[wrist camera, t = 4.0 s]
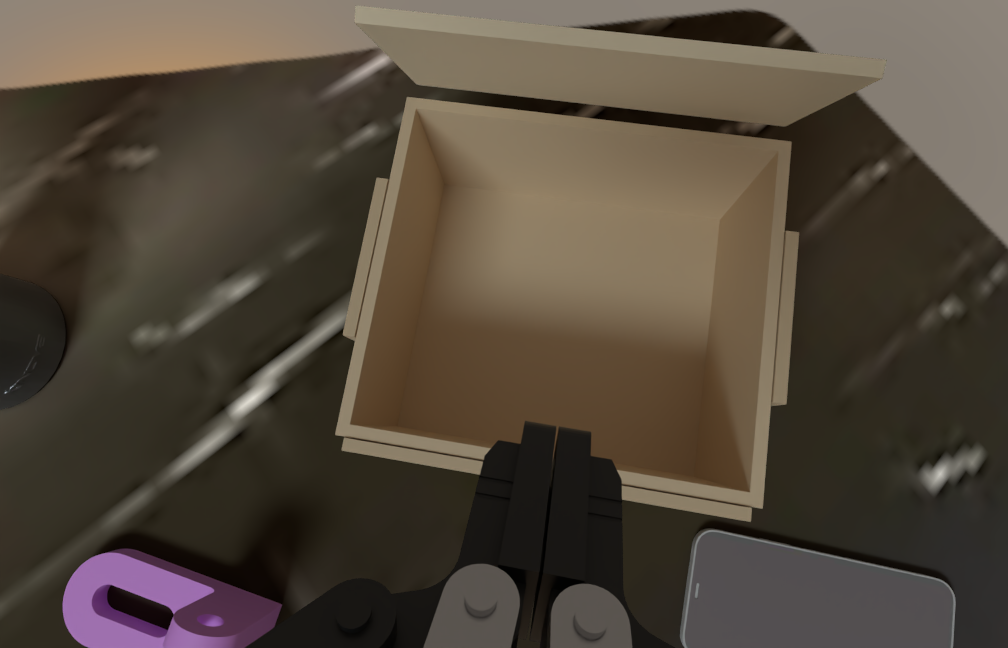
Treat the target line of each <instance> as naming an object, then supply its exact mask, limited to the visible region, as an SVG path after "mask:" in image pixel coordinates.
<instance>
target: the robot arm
mask: <svg viewBox="0 0 1008 648" xmlns="http://www.w3.org/2000/svg"><path fill="white" fill-rule="evenodd" d="M65 336H66V328H65V322H64V317H63V314H62V312H61V309H60V307H59V305H58V304H57V302H56V301H55V300H54V298H53V297H52V295H50V294H49V293H48V292H47V291H45V290H44V289H43V288H41V287H39V286H37V285H35V284H33V283H30V282H27V281H23V280H20V279H17V278H13V277H10V276H6V275H3V274H0V409H5V408H10V407H13V406H15V405H17V404H20V403H22V402H24V401H26V400H27V399H29V398H30V397H32V396H33V395H34V394H36V393H37V392H38V391H39V390H40V389H41V388H42V387H43V386H44V385H45V384H46V383H47V382H48V381H49V379H50V378H51V376H52V375H53V373H54V372H55V371H56V368H57V366H58V364H59V362H60V360H61V358H62V354H63V350H64V346H65ZM555 435H556V426H554V425H548V424H542V423H536V422H530V421H525V423H524V428H523V434H522V439H521V444H518V443H513V442H507V441H501V440H498V441H497V442H496V443H495V444H494V446H493V447H492V448H491V449H490V450H489V451H488V453H487V454H486V455H485V456H484V460H483V464H482V468H481V472H480V477H479V480H478V484H477V488H476V493H475V496H474V500H473V504H472V508H471V512H470V516H469V520H468V524H467V528H466V532H465V536H464V540H463V544H462V548H461V552H460V556H459V559H458V562H457V564H456V566H455V567H454V569H453V570H452V572H451V573H450V574H449V575H448V576H447V577H446V578H445V579H443V580H442V581H441V582H439V583H438V584H436V585H434V586H432V587H429V588H426V589H422V590H417V591H410V592H403V593H396V594H391V593H390V592H389V590H388V589H387V588H386V587H385V586H383V585H382V584H380V583H379V582H376V581H374V580H370V579H363V578H359V579H352V580H347V581H345V582H342V583H340V584H338V585H337V586H335V587H333V588H332V589H330V590H329V591H327V592H326V593H324V594H323V595H322V596H320V597H319V598H317V599H316V600H314V601H313V602H311V603H310V604H308V605H307V606H305V607H304V608H302V609H301V610H299V611H298V612H296V613H295V614H294V615H292V616H291V617H289V618H288V619H286V620H285V621H283V622H282V623H280V624H279V625H277V626H276V627H274V628H273V629H271V630H270V631H268V632H267V633H266V634H264V635H263V636H261V637H260V638H258V639H257V640H255V641H254V642H252V643H251V644H249V645H248V646H246V647H245V648H516V647H517V641H518V638H519V639H524V640H526V638H527V633H528V628H529V623H530V618H531V612H532V607H533V602H534V608H533V616H532V624H531V632H530V641H535V642H540V648H675V647H673V646H671V645H669V644H667V643H666V642H664V641H662V640H660V639H658V638H657V637H655V636H654V635H652V634H650V633H649V632H648V631H647V630H645V629H644V628H643V627H642V626H641V625H640V624H639V623H638V622H637V620H636V619H635V618H634V616H633V615H632V613H631V612H630V610H629V608H628V606H627V603H626V601H625V597H624V591H623V543H622V505H621V504H622V479H621V477H620V475H619V473H618V471H617V469H616V467H615V465H614V463H613V461H612V459H606V458H600V457H594V456H591V432H590V431H584V430H578V429H572V428H566V427H560V426H559V429H558V434H557V440H556V445H555V451H554V444H555ZM553 452H554V456H553ZM534 597H535V599H534Z"/></svg>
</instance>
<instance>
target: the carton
mask: <svg viewBox="0 0 1008 648" xmlns="http://www.w3.org/2000/svg"><path fill="white" fill-rule="evenodd" d="M791 143H792V142H790V141H782V140H773V139H765V138H756V137H747V136H739V135H730V134H721V133H713V132H704V131H696V130H687V129H678V128H670V127H661V126H653V125H644V124H635V123H627V122H618V121H610V120H601V119H592V118H584V117H575V116H566V115H558V114H549V113H541V112H532V111H523V110H515V109H506V108H498V107H489V106H480V105H472V104H463V103H455V102H446V101H437V100H429V99H420V98H411V97H407V100H406V104H405V109H404V114H403V119H402V123H401V128H400V133H399V137H398V142H397V147H396V151H395V156H394V161H393V166H392V170H391V175H390V180H388V179H384V178H377V179H376V184H375V188H374V193H373V198H372V202H371V207H370V211H369V216H368V221H367V225H366V230H365V234H364V239H363V244H362V248H361V253H360V257H359V262H358V267H357V271H356V276H355V280H354V285H353V290H352V294H351V299H350V303H349V308H348V313H347V317H346V322H345V326H344V331H343V335H344V336H346V337H348V338H350V339H352V340H354V341H355V344H354V349H353V353H352V358H351V363H350V368H349V372H348V377H347V382H346V386H345V391H344V396H343V400H342V405H341V410H340V415H339V419H338V424H337V429H336V433H335V435H339V436H345V437H350V438H344V441H343V446H342V451H348V452H354V453H359V454H365V455H371V456H377V457H382V458H388V459H394V460H399V461H405V462H411V463H417V464H422V465H428V466H434V467H440V468H445V469H451V470H457V471H462V472H468V473H474V474H480V472H481V468H482V464H483V460H484V456H485V455H486V454H487V453H488V451H489V450H490V449H491V448H492V447H493V446H494V444H495V443H496V442H497V441H498V440H501V441H507V442H513V443H518V444H521V439H522V434H523V428H524V423H525V421H530V422H536V423H542V424H548V425H554V426H556V435H555V444H554V451H555V445H556V440H557V434H558V429H559V426H560V427H566V428H572V429H578V430H584V431H590V432H591V456H594V457H600V458H606V459H612V461H613V463H614V465H615V467H616V469H617V471H618V473H619V475H620V477H621V479H622V499H623V500H628V501H634V502H640V503H646V504H651V505H657V506H663V507H668V508H674V509H680V510H686V511H691V512H697V513H703V514H708V515H714V516H720V517H726V518H731V519H737V520H743V521H749V522H751V513H752V508H750V507H748V506H751V507H756V508H762V509H763V497H764V484H765V472H766V459H767V446H768V434H769V421H770V408H771V406H775V405H784V404H786V402H787V389H788V375H789V362H790V349H791V335H792V322H793V308H794V295H795V281H796V268H797V254H798V241H799V232H792V231H786V232H785V219H786V206H787V194H788V181H789V169H790V156H791ZM553 456H554V452H553Z"/></svg>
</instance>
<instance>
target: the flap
mask: <svg viewBox="0 0 1008 648" xmlns="http://www.w3.org/2000/svg"><path fill="white" fill-rule="evenodd" d="M355 24H356V25H357V26H358V27H359V28H360V29H361V30H362V31H363V32H364V33H365V34H366V35H367V36H368V37H369V38H370V39H372V41H373V42H374V43H376V45H377V46H378V47H379V48H381V49H382V50H383V51H384V52H385V53H386V54H387V55H388V56H389V57H390V58H391V59H392V60H393V61H394V62H395V63H396V64H397V65H398V66H399V67H400V68H401V69H402V70H403V71H404V72H405V73H406V74H407V75H408V76H409V77H410V78H411V79H412V80H413V81H414V82H415V83H416V84H417V85H424V86H433V87H442V88H451V89H459V90H468V91H477V92H486V93H495V94H503V95H512V96H521V97H530V98H538V99H547V100H556V101H565V102H573V103H582V104H591V105H600V106H609V107H617V108H626V109H635V110H644V111H652V112H661V113H670V114H679V115H688V116H696V117H705V118H714V119H723V120H731V121H740V122H749V123H758V124H767V125H775V126H784V127H785V126H787V125H789V124H791V123H793V122H795V121H797V120H799V119H801V118H803V117H805V116H807V115H809V114H811V113H813V112H815V111H817V110H819V109H821V108H823V107H826V106H828V105H830V104H832V103H834V102H836V101H838V100H840V99H842V98H844V97H846V96H848V95H850V94H852V93H854V92H856V91H858V90H860V89H862V88H864V87H865V86H868V85H870V84H872V83H874V82H876V81H878V80H880V79H882V78H883V74H884V70H885V66H886V61H887V60H882V59H873V58H863V57H854V56H843V55H834V54H824V53H815V52H805V51H795V50H785V49H776V48H766V47H756V46H746V45H736V44H727V43H717V42H707V41H697V40H688V39H678V38H668V37H658V36H648V35H639V34H629V33H619V32H609V31H600V30H590V29H580V28H570V27H560V26H551V25H541V24H530V23H520V22H511V21H501V20H492V19H481V18H472V17H462V16H452V15H443V14H433V13H424V12H414V11H404V10H394V9H384V8H375V7H365V6H356V9H355Z"/></svg>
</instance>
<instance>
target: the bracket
mask: <svg viewBox="0 0 1008 648" xmlns="http://www.w3.org/2000/svg"><path fill="white" fill-rule="evenodd" d="M111 585H113V586H116V587H118V588H121V589H124V590H126V591H129V592H132V593H134V594H137V595H139V596H142V597H145V598H147V599H150V600H152V601H155V602H158V603H160V604H163V605H165V606H168V607H169V608H170V609H171V610H172V612H173V614H174V616H173V618H172V621H171V624H170V626H169V629H168V630H166V629H164V628H161V627H159V626H156V625H153V624H151V623H148V622H146V621H143V620H141V619H138V618H135V617H133V616H130V615H128V614H125V613H123V612H120V611H117V610H115V609H113V608H112V607H111V606H110V605H109V603H108V601H107V592H108V589H109V587H110V586H111ZM281 607H282V604H280V603H277V602H274V601H272V600H269V599H266V598H264V597H261V596H258V595H256V594H253V593H250V592H248V591H245V590H242V589H240V588H237V587H234V586H232V585H229V584H226V583H223V582H221V581H218V580H215V579H213V578H210V577H207V576H205V575H202V574H199V573H197V572H194V571H191V570H189V569H186V568H183V567H181V566H178V565H175V564H173V563H170V562H167V561H165V560H162V559H159V558H157V557H154V556H151V555H148V554H146V553H143V552H140V551H138V550H134V549H118V550H114V551H110V552H107V553H103V554H100V555H97V556H94V557H92V558H90V559H89V560H87V561H86V562H84V563H83V564H82V565H81V566H80V567H79V568H78V569H77V570H76V571H75V573H74V574H73V575H72V577H71V579H70V580H69V582H68V585H67V587H66V590H65V593H64V598H63V616H64V620H65V624H66V626H67V628H68V630H69V632H70V633H71V635H72V636H73V637H74V638H75V639H76V640H77V641H78V642H79V643H81V644H82V645H84V646H86V647H88V648H245V647H246V646H248V645H249V644H251V643H252V642H254V641H255V640H257V639H258V638H260V637H261V636H263V635H264V634H266V633H267V632H268V631H270V630H271V629H273V628H274V626H275V624H276V621H277V618H278V615H279V612H280V610H281Z"/></svg>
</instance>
